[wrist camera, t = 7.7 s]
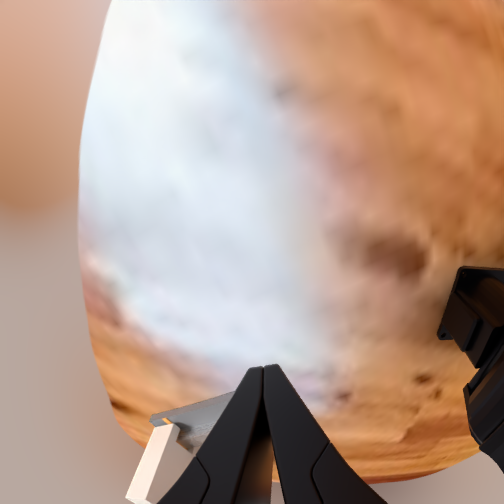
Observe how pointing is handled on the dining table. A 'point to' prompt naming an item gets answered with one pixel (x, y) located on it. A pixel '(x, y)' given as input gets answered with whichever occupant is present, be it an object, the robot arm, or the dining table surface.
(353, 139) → the dining table surface
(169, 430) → the white cardboard box
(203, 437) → the light grey bar
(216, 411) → the board
